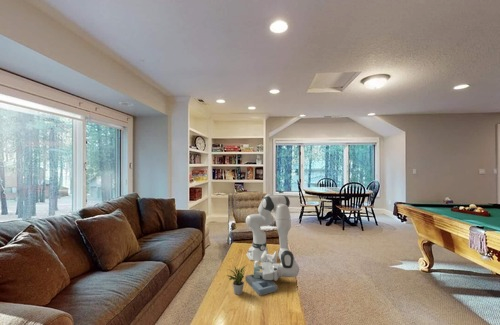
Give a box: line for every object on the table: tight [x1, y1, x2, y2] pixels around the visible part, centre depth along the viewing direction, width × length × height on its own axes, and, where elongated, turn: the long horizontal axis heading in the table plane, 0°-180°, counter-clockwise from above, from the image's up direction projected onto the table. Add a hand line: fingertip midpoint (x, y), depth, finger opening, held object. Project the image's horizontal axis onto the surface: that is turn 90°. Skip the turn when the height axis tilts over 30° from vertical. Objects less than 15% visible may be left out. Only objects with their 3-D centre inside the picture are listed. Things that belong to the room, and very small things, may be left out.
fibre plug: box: [253, 261, 261, 279], centre depth 168 cm, size 4×4×14 cm
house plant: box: [226, 265, 247, 296], centre depth 155 cm, size 14×14×16 cm
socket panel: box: [244, 273, 278, 296], centre depth 162 cm, size 21×13×4 cm, turn 25°
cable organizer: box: [260, 250, 278, 271], centre depth 191 cm, size 15×11×12 cm
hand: (255, 270), depth 168 cm, fingers open, 6 cm apart
